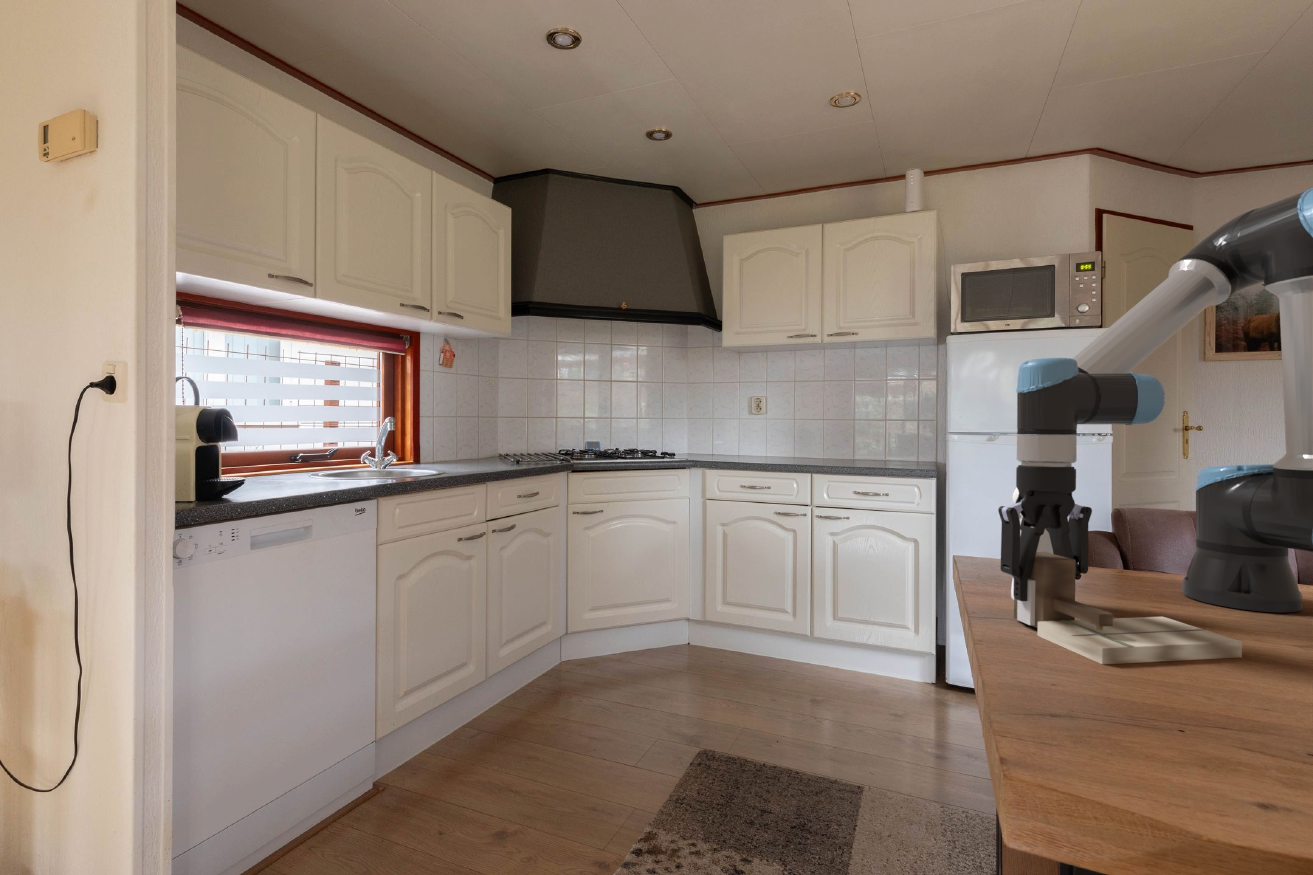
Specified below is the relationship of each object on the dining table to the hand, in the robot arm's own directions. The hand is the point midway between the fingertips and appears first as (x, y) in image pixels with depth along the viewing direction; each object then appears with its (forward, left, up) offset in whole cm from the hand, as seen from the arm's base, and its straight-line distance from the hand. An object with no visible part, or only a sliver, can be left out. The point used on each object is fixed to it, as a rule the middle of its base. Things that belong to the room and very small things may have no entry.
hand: (1043, 621), depth 94 cm
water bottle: (-8, -12, -1) cm, 14 cm away
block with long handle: (0, +4, 0) cm, 4 cm away
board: (-6, +9, -1) cm, 11 cm away
